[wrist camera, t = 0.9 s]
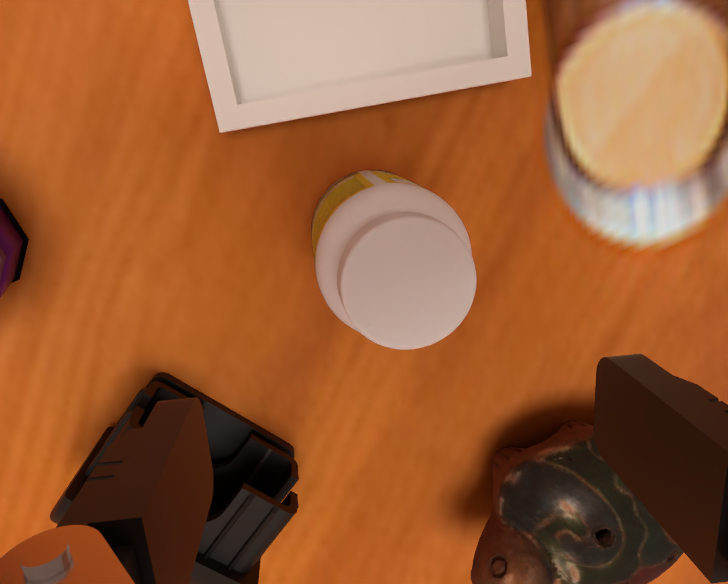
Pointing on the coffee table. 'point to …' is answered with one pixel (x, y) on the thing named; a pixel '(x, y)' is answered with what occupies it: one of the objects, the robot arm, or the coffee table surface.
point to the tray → (351, 53)
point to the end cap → (219, 483)
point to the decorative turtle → (567, 519)
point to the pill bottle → (392, 259)
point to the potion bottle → (10, 248)
